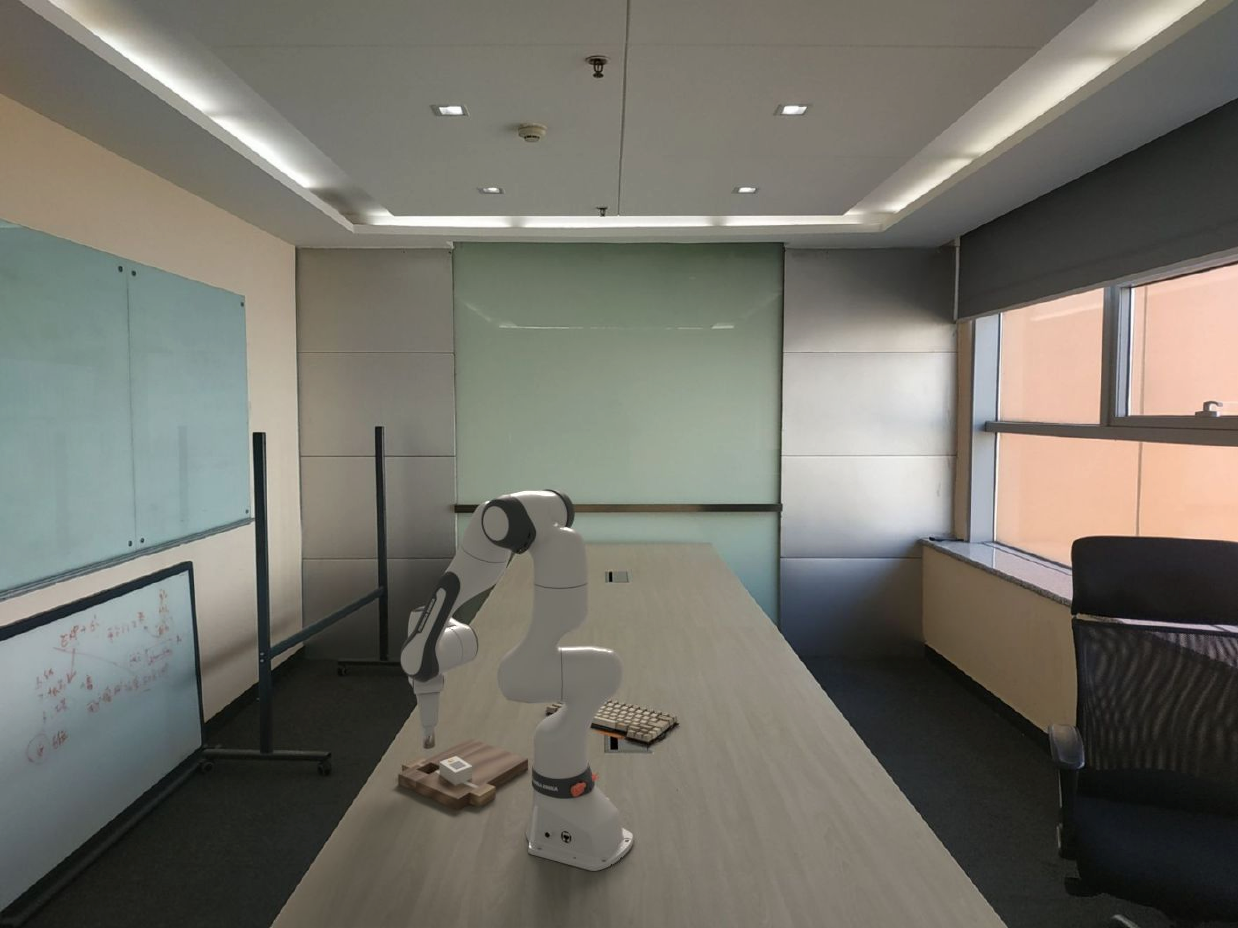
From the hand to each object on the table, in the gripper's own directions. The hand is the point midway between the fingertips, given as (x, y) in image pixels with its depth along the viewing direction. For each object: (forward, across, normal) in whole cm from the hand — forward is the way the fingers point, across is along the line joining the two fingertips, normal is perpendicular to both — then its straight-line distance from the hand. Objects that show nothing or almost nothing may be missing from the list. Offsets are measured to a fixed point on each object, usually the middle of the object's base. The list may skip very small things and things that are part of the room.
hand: (428, 729), depth 173 cm
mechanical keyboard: (+13, -22, +50) cm, 56 cm away
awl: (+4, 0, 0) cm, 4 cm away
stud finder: (+9, +6, +6) cm, 13 cm away
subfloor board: (+12, +1, +8) cm, 14 cm away
